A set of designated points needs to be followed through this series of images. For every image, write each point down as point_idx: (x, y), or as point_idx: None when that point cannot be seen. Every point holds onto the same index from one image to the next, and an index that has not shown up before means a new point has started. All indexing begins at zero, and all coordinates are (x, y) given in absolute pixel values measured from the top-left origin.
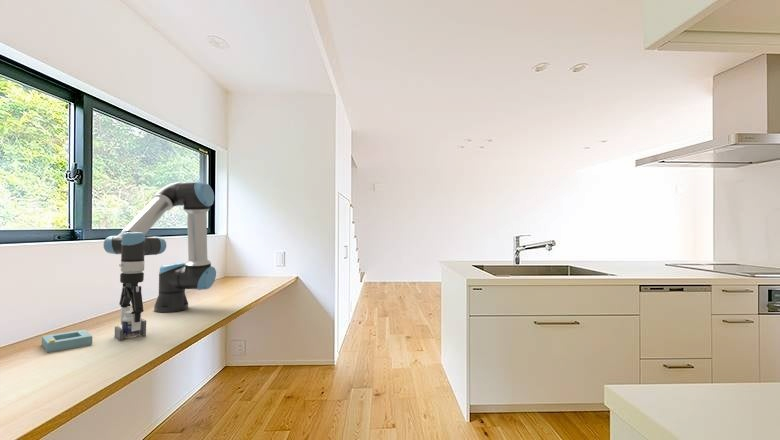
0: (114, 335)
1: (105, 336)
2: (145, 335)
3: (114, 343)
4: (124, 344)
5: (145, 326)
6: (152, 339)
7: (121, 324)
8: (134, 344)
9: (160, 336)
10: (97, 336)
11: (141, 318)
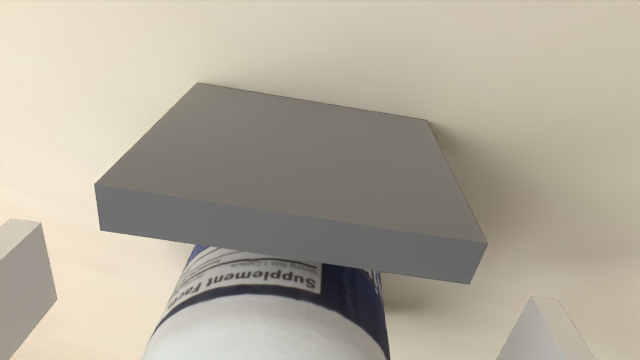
0: None
1: (114, 312)
2: (425, 127)
3: (398, 352)
4: (501, 331)
5: (455, 192)
6: (625, 140)
7: (55, 297)
8: (587, 298)
9: (618, 13)
10: (71, 338)
11: (204, 209)
